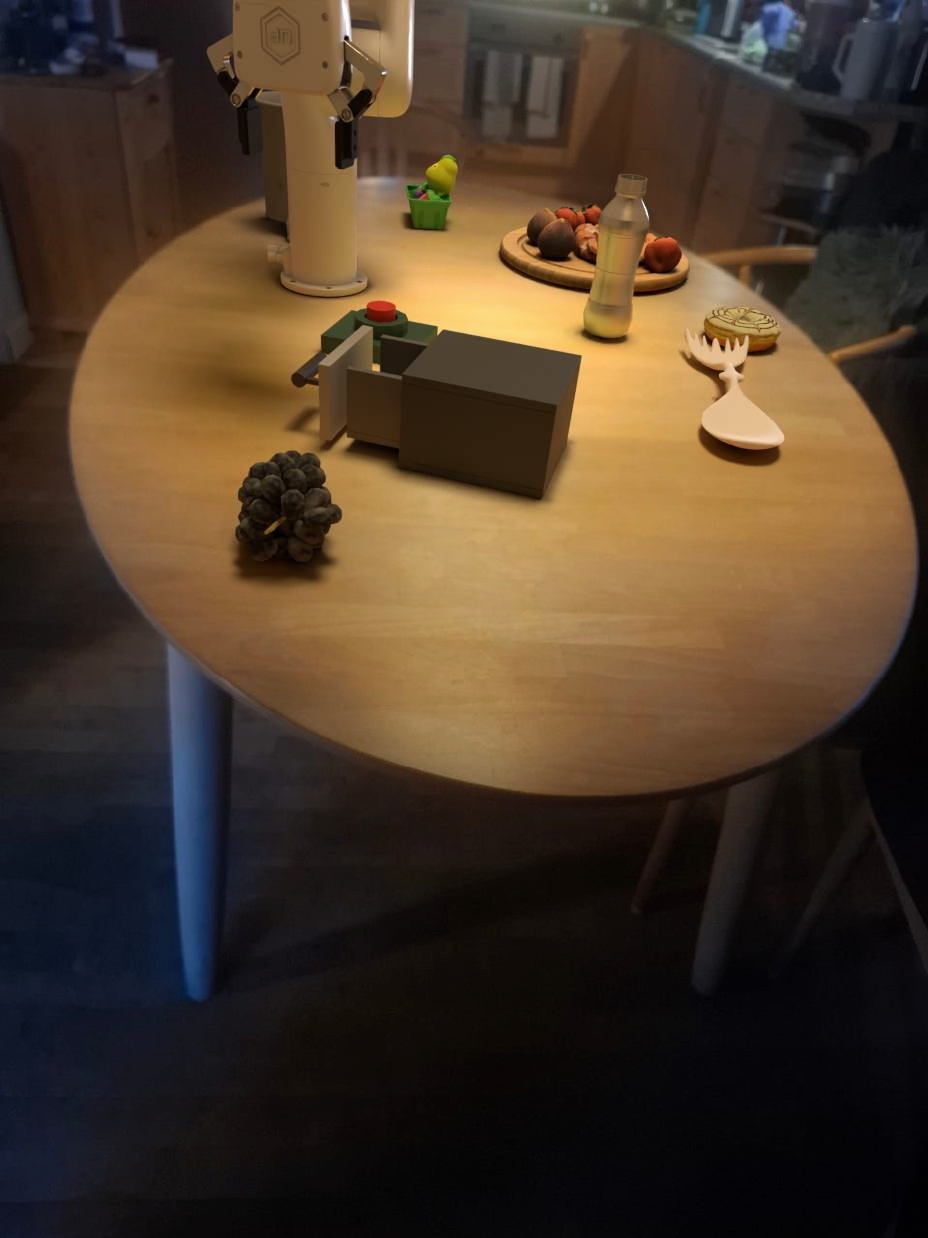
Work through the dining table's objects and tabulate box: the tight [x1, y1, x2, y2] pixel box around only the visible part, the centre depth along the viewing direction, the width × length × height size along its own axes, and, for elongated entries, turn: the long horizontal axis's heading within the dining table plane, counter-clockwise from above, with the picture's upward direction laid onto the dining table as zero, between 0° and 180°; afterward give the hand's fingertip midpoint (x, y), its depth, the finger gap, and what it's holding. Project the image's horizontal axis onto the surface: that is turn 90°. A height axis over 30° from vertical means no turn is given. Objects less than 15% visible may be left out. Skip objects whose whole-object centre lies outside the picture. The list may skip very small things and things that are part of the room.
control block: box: [320, 307, 439, 365], centre depth 108 cm, size 12×10×4 cm
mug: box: [256, 90, 290, 243], centre depth 141 cm, size 19×15×25 cm
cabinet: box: [397, 329, 583, 500], centre depth 86 cm, size 15×13×10 cm
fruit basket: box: [405, 154, 459, 230], centre depth 154 cm, size 11×9×11 cm
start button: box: [366, 300, 397, 322], centre depth 107 cm, size 4×4×2 cm
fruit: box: [234, 449, 343, 563], centre depth 73 cm, size 9×8×15 cm
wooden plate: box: [499, 203, 691, 293], centre depth 143 cm, size 32×32×8 cm
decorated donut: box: [703, 306, 782, 353], centre depth 121 cm, size 10×11×4 cm
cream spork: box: [684, 327, 785, 451], centre depth 104 cm, size 9×32×4 cm, turn 174°
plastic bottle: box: [582, 173, 651, 339], centre depth 113 cm, size 6×7×20 cm
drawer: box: [290, 325, 430, 449], centre depth 88 cm, size 18×12×8 cm, turn 74°
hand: (298, 160), depth 83 cm, fingers open, 9 cm apart
